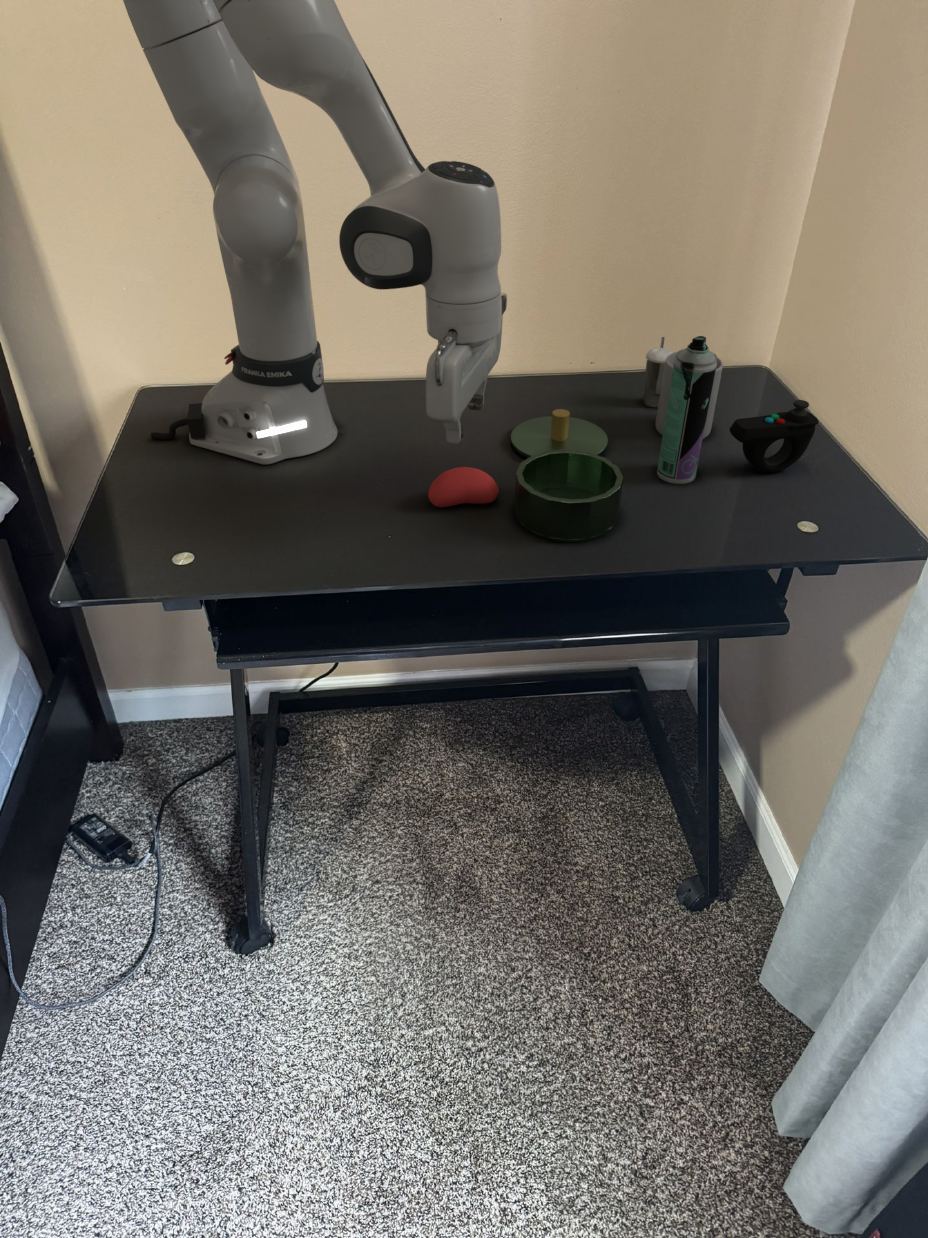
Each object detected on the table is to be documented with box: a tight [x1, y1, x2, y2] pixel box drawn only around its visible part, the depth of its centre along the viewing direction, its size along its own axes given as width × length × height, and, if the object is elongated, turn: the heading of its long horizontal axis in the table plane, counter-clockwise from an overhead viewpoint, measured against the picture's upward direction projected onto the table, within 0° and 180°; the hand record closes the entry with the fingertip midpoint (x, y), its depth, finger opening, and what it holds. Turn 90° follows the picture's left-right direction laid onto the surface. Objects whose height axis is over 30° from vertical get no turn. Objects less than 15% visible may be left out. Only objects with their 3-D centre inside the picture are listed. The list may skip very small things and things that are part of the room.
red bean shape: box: [427, 466, 500, 508], centre depth 118 cm, size 5×9×6 cm
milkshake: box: [643, 336, 675, 409], centre depth 141 cm, size 5×5×10 cm
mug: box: [655, 351, 724, 440], centre depth 132 cm, size 12×8×11 cm
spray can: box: [656, 335, 718, 485], centre depth 119 cm, size 6×6×20 cm
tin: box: [514, 450, 624, 543], centre depth 115 cm, size 14×14×6 cm
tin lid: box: [510, 408, 609, 459], centre depth 131 cm, size 15×15×5 cm
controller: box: [729, 399, 820, 473], centre depth 124 cm, size 4×12×10 cm, turn 103°
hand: (465, 423), depth 112 cm, fingers open, 8 cm apart
